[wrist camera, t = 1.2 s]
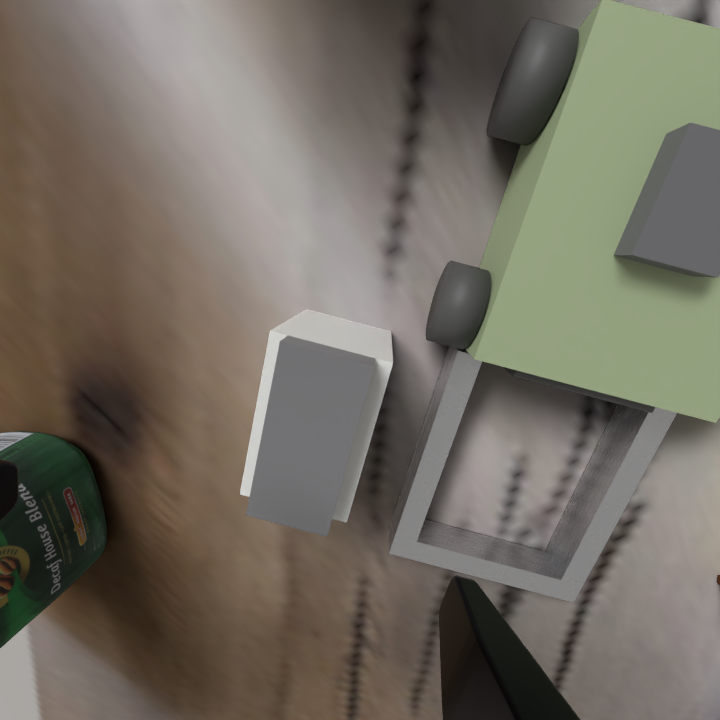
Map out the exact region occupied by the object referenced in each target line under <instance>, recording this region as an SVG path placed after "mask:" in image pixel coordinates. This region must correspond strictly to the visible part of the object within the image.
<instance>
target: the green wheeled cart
mask: <svg viewBox="0 0 720 720" xmlns="http://www.w3.org/2000/svg"><path fill="white" fill-rule="evenodd" d="M487 136H491V137H495V138H499V139H503V140H506V141H510V142H514V143H518V144H521V146H520V149H519V152H518V155H517V158H516V161H515V164H514V167H513V170H512V173H511V175H510V178H509V181H508V184H507V187H506V190H505V193H504V196H503V199H502V202H501V205H500V208H499V211H498V214H497V217H496V220H495V223H494V226H493V229H492V232H491V235H490V238H489V241H488V244H487V247H486V250H485V253H484V256H483V259H482V262H481V265H480V268H477V267H473V266H469V265H466V264H462V263H458V262H454V261H450V262H449V263H448V264H447V265H446V267H445V269H444V271H443V273H442V275H441V278H440V280H439V283H438V285H437V288H436V291H435V294H434V297H433V300H432V304H431V308H430V312H429V316H428V321H427V327H426V339H427V340H429V341H433V342H436V343H440V344H444V345H448V346H452V347H455V348H459V349H465V350H466V351H467V352H468V353H469V354H470V355H471V356H472V357H473V358H474V359H475V360H479V361H483V362H487V363H491V364H494V365H498V366H502V367H504V368H505V369H506V370H507V371H508V372H509V373H510V374H512V375H513V376H514V377H518V378H521V379H525V380H529V381H533V382H536V383H540V384H544V385H548V386H552V387H555V388H559V389H563V390H567V391H571V392H574V393H578V394H582V395H586V396H589V397H593V398H597V399H601V400H605V401H608V402H612V403H616V404H620V405H624V406H627V407H631V408H635V409H639V410H642V411H646V412H650V413H653V411H654V409H655V407H657V408H661V409H665V410H669V411H672V412H676V413H680V414H684V415H687V416H691V417H695V418H699V419H703V420H706V421H710V422H714V423H716V422H717V421H718V419H719V417H720V29H719V28H715V27H711V26H707V25H704V24H700V23H696V22H692V21H688V20H684V19H681V18H677V17H673V16H669V15H665V14H662V13H658V12H654V11H650V10H646V9H642V8H639V7H635V6H631V5H627V4H623V3H619V2H616V1H612V0H601V1H600V2H599V3H598V5H597V6H596V7H595V8H594V10H593V11H592V12H591V13H590V14H589V16H588V17H587V18H586V19H585V21H584V22H583V23H582V24H581V25H580V27H579V28H578V29H575V28H571V27H567V26H563V25H559V24H555V23H552V22H548V21H544V20H540V19H536V18H533V17H531V18H530V19H529V20H528V21H527V22H526V24H525V26H524V28H523V29H522V31H521V33H520V35H519V37H518V39H517V41H516V44H515V46H514V48H513V51H512V53H511V55H510V58H509V60H508V63H507V65H506V68H505V70H504V73H503V76H502V78H501V81H500V84H499V87H498V90H497V93H496V96H495V99H494V102H493V105H492V109H491V112H490V116H489V121H488V125H487Z"/></svg>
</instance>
